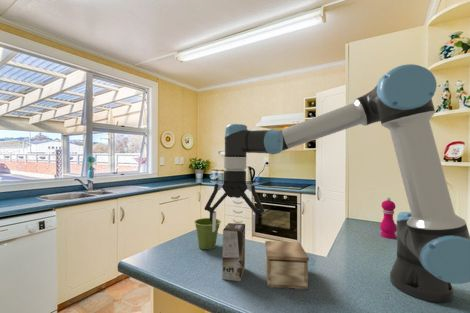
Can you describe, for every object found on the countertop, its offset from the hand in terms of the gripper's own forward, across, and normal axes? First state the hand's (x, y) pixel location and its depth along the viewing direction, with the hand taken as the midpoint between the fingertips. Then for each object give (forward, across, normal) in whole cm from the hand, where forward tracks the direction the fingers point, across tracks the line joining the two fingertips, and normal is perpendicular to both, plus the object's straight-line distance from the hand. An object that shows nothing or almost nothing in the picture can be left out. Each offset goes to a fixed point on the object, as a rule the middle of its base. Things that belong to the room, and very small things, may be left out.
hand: (233, 232), depth 78 cm
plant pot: (+15, +14, -22) cm, 30 cm away
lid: (+6, -17, 0) cm, 18 cm away
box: (+14, -18, 0) cm, 22 cm away
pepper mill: (+14, -76, -46) cm, 89 cm away
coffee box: (+14, 0, 0) cm, 14 cm away
